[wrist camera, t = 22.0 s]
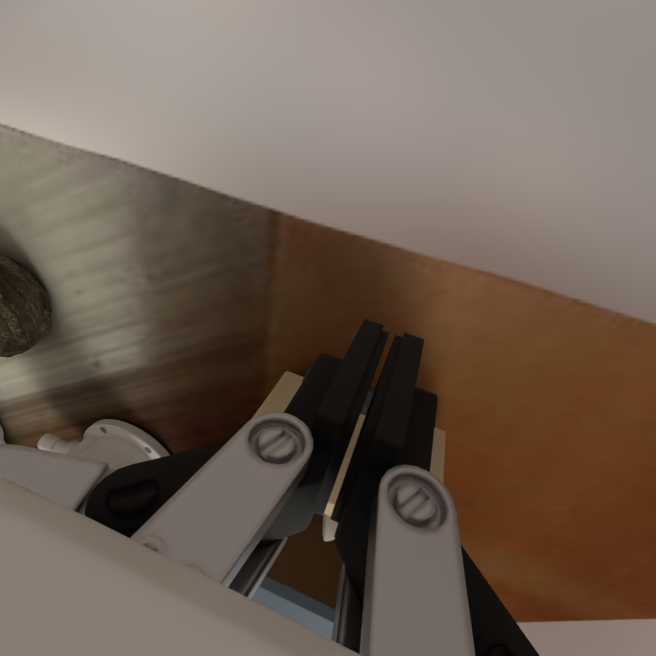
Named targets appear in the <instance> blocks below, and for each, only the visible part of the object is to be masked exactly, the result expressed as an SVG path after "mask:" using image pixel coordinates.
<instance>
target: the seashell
mask: <svg viewBox="0 0 656 656" xmlns="http://www.w3.org/2000/svg"><path fill="white" fill-rule="evenodd" d="M51 311H52V309H51V307H50V302H49V297H48V295H47V293H46V291H45V290H44V289H43V288H42V287H41V286H40V284H39V283H38V281H37V280H36V278H35V277H34V276H33V275H31V274H30V273H29V272H28V271H27V270H26V269H25V268H24V267H22V266H20V265H17V264H15V262H13V261H12V260H10V259H9V258H8V257H6V256H4V255H2V254H0V356H1V357H12V356H14V355H16V354H20V353H23V352H25V351H27V350H28V349H30V348H31V347H33V346H35V345H36V344H37V343H38V342H39V341H40V340H41V339H42V338H44V337H45V336H47V335H48V334H49V331H50V327H51Z"/></svg>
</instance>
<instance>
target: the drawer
mask: <svg viewBox="0 0 656 656" xmlns="http://www.w3.org/2000/svg"><path fill="white" fill-rule="evenodd" d="M312 367H313V365H310V366H309V367H308V369H307V371H306V373H305V375H304V377H302V376H299V375H297V374H294V373H291V372H289V371H286V372H285V373H284V375H283V376H282V377H281V379H280V380H279V381H278V383H277V384H276V386H275V387H274V388H273V390H272V391H271V393H270V394H269V395H268V397H267V398H266V400H265V401H264V402H263V404H262V405H261V406H260V408H259V409H258V411H257V412H256V413H255V415H254V416H253V418H254V417H255V416H258V415H261V414H263V413H268V412H281V413H284V411H285V409H286V408H287V406H288V405H289V403H290V402H291V400H292V398H293V397H294V395H295V394H296V392H297V390H298V389H299V387H300V386H301V384H302V383H303V381H304V379H305V378H306V376H307V375H308V373H309V371H310V370H311V368H312ZM374 391H375V388H372V387H370V388H369V391H368V393H367V396H366V399H365V402H364V405H363V407H362V410H361V413H360V416H359V418H358V421H357V424H356V427H355V429H354V432H353V435H352V438H351V440H350V443H349V446H348V449H347V451H346V454H345V457H344V460H343V462H342V465H341V468H340V471H339V473H338V476H337V479H336V482H335V484H334V487H333V490H332V492H331V495H330V498H329V501H328V503H327V506H326V509H325V512H324V514H326V515H328V516H331V515H332V512H333V509H334V506H335V503H336V500H337V497H338V494H339V491H340V488H341V485H342V483H343V480H344V477H345V474H346V471H347V468H348V465H349V462H350V459H351V456H352V453H353V451H354V448H355V445H356V442H357V439H358V436H359V433H360V430H361V427H362V424H363V421H364V419H365V416H366V413H367V410H368V407H369V405H370V402H371V399H372V396H373V394H374ZM253 418H252V419H253ZM445 435H446V432H445V431H443V430H440V429H438V428H434V437H433V447H432V456H431V466H430V473H431V474H433V475H434V476H435V477H437V478H438V479H439V480H440V481H441V482H442V483H443V475H444V455H445ZM334 541H335V539H333V540H331V541H324V540H323V516H322V515H320V514H318V513H314V515H313V518H312V520H311V523H310V526H309V525H308V527H307V530H304V531H301V532H299V533H296V534H294V535H291V536H288V538H287V541H286V543H285V545H284V547H283V548H282V550H281V551H280V553H279V555H278V556H277V558H276V560H275V561H274V563H273V564H272V566H271V568H270V569H269V571H268V573H267V574H266V576H268V577H270V578H272V579H274V580H276V581H278V582H280V583H282V584H284V585H286V586H288V587H290V588H292V589H295V590H297V591H299V592H301V593H303V594H305V595H307V596H309V597H311V598H313V599H315V600H317V601H319V602H322V603H324V604H326V605H328V606H330V607H332V608H334V609H336V601H337V594H338V586H339V579H340V571H341V567H342V564H343V560H342V558H341V556H340V554H339V552H338V550H337V547H336V545H335V543H334Z"/></svg>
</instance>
